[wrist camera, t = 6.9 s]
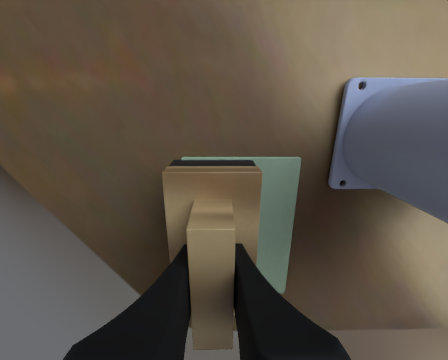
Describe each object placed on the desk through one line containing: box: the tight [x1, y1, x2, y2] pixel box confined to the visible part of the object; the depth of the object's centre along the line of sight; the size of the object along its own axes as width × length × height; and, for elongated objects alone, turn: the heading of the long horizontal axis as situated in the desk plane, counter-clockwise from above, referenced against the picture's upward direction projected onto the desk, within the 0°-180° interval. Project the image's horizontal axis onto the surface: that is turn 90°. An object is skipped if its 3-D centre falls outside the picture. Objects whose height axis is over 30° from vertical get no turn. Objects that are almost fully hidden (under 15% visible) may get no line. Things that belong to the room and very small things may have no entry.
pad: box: [181, 157, 301, 293], centre depth 18 cm, size 9×13×1 cm
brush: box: [162, 160, 263, 350], centre depth 12 cm, size 10×5×6 cm, turn 0°
